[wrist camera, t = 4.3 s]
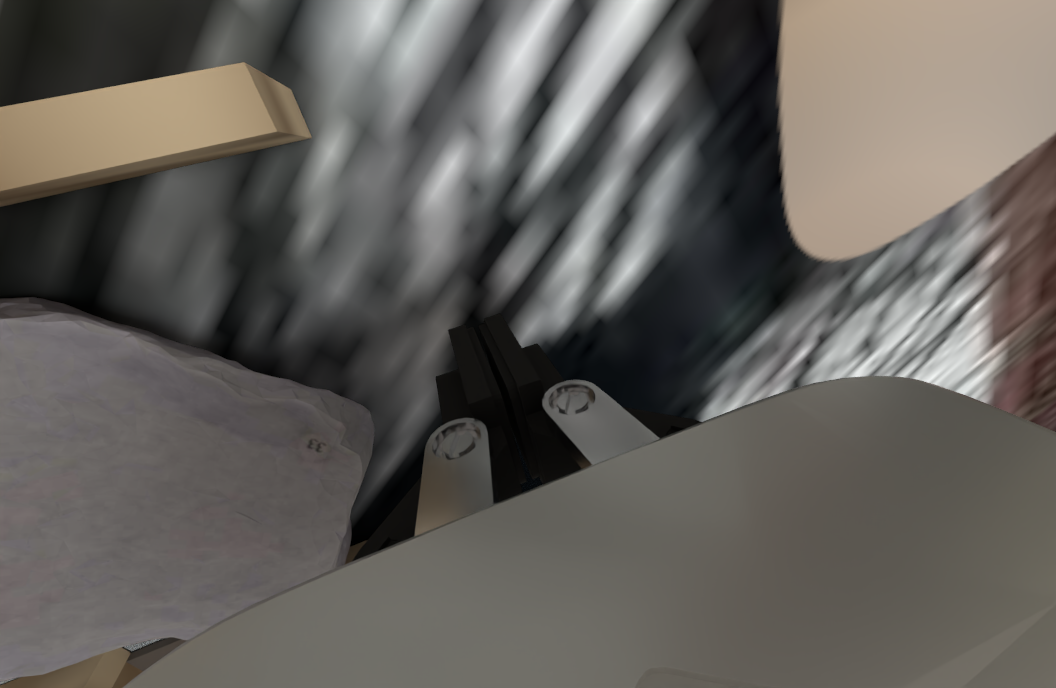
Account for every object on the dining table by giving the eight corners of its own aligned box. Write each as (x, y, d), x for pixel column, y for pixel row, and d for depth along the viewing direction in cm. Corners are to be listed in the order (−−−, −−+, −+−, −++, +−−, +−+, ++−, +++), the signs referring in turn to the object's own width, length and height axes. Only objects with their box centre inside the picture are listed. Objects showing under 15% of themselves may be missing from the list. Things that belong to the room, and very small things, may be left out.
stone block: (-97, 243, 9) (-104, 581, 11) (-489, 250, 5) (-408, 807, 7) (395, 337, 15) (343, 556, 16) (408, 379, 10) (335, 672, 12)
